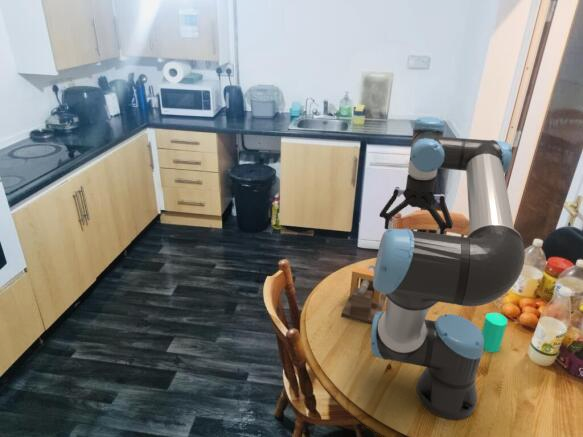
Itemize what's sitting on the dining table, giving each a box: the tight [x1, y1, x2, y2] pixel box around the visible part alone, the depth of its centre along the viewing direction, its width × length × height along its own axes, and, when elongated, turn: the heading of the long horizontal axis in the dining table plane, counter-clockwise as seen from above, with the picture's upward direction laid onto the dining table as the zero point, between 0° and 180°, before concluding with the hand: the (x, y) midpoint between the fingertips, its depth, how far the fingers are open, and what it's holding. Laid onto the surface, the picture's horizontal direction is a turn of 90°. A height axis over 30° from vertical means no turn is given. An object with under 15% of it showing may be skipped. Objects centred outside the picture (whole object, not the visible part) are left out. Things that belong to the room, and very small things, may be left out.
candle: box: [481, 312, 509, 353], centre depth 128 cm, size 6×6×12 cm
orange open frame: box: [349, 266, 381, 303], centre depth 144 cm, size 3×10×10 cm, turn 68°
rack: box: [340, 265, 387, 325], centre depth 145 cm, size 16×12×12 cm
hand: (411, 243), depth 126 cm, fingers open, 13 cm apart
